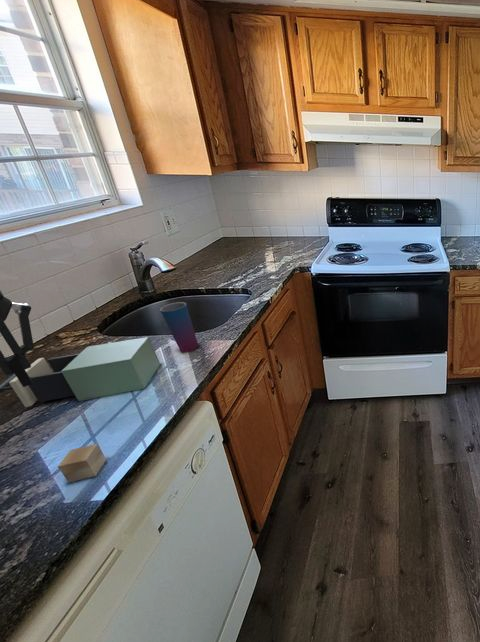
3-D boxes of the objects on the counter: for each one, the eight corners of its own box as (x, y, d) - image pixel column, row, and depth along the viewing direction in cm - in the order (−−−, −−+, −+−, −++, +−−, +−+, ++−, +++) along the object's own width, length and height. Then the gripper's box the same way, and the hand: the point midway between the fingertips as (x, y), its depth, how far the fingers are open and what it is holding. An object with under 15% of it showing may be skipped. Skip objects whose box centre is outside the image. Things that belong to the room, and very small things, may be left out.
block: (68, 482, 72) (57, 466, 70) (80, 465, 76) (70, 449, 74) (95, 476, 74) (85, 460, 72) (106, 459, 78) (97, 443, 76)
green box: (78, 401, 95) (60, 371, 91) (102, 374, 106) (87, 346, 102) (144, 388, 100) (130, 359, 96) (160, 364, 110) (148, 336, 106)
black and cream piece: (-2, 412, 91) (-20, 387, 88) (28, 386, 101) (13, 362, 97) (90, 394, 96) (76, 370, 93) (110, 371, 106) (98, 348, 103)
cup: (173, 349, 118) (155, 308, 112) (195, 340, 123) (180, 300, 117) (182, 355, 114) (165, 313, 108) (205, 346, 119) (190, 304, 113)
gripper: (-96, 298, 62) (-17, 406, 72) (15, 275, 72) (71, 374, 82) (-96, 289, 66) (-21, 392, 76) (9, 268, 76) (64, 363, 86)
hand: (27, 383), depth 79 cm, fingers closed
